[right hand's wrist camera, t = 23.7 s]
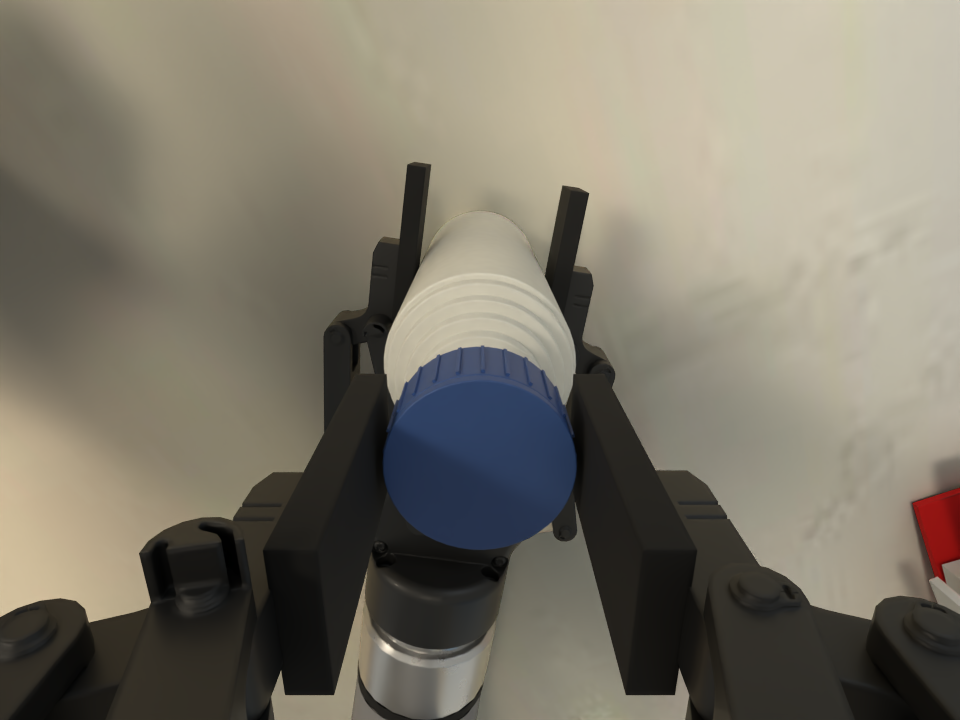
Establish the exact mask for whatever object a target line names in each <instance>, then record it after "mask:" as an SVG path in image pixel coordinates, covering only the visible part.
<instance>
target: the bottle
mask: <svg viewBox="0 0 960 720" xmlns="http://www.w3.org/2000/svg"><path fill="white" fill-rule="evenodd" d="M481 345H484V347H492V348H499V349H507V351H510V352H513V353H515V354H517V355H520V356H522V357H523V358H524V357H527V358H528V360H529V361H530V362H532V363H533V364H534V365H536V366H537V367H538V368H539V369H540V370H544V371H545V373H546V376H547V377H548V378H549V380H550V381H551V382H552V384H553V385H554V387H555V386H557V388H558V390H559V394H560V397H561V400H562V403H563V405H564V404H566V402H567V399H568V397H569V394H570V391H571V389H572V385H573V374H575V369H576V353H575V348H574V342H573V339H572V336H571V333H570V330H569V328H568V325H567V323H566V321H565V319H564V317H563V315H562V313H561V310H560V308H559V306H558V304H557V302H556V300H555V298H554V295H553V293H552V291H551V289H550V287H549V285H548V283H547V280H546V278H545V276H544V274H543V272H542V270H541V268H540V265H539V263H538V261H537V259H536V257H535V255H534V253H533V250H532V248H531V246H530V244H529V242H528V240H527V238H526V236H525V235H524V233H523V232H522V231H521V229H520V228H519V227H518V226H517V225H516V224H514V223H513V222H512V221H511V220H509V219H508V218H506V217H504V216H502V215H500V214H497V213H493V212H488V211H471V212H467V213H463V214H461V215H458V216H456V217H454V218H452V219H451V220H449V221H448V222H446V223H445V224H444V225H443V226H442V227H441V228H440V229H439V230H438V232H437V233H436V234H435V236H434V238H433V239H432V242H431V244H430V246H429V248H428V250H427V252H426V254H425V256H424V259H423V261H422V263H421V265H420V267H419V269H418V271H417V273H416V276H415V278H414V280H413V282H412V284H411V286H410V288H409V291H408V293H407V295H406V297H405V299H404V301H403V303H402V305H401V308H400V310H399V312H398V314H397V316H396V318H395V320H394V323H393V325H392V327H391V329H390V332H389V334H388V338H387V341H386V345H385V352H384V372H385V374H387V386H388V389H389V392H390V395H391V398H392V400H393V402H394V405H395V403H396V400H399V399H400V396H401V394H402V390H403V387H404V384H405V382H406V381H407V382H409V380H410V379H411V378H412V377H413V375H414V374H415V373H416V372H417V371H418V368H419V367H420V366H422V367H423V366H424V365H425V364H427V363H428V362H430V361H431V360H433V359H434V358H436V357H437V355H439V354H440V355H442V354H445V353H447V352H450V351H453V350H457V349H458V348H459V347H462V348H467V347H481Z"/></svg>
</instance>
